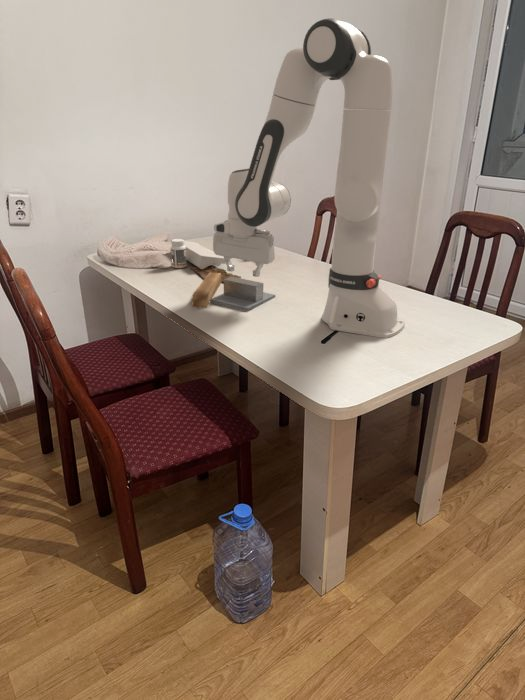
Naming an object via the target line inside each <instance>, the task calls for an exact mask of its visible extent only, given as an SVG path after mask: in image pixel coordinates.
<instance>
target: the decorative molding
mask: <svg viewBox="0 0 525 700" xmlns="http://www.w3.org/2000/svg"><path fill="white" fill-rule="evenodd" d="M184 246H185V247H186V257H187V262H189V263H190V264H193V265H194V267H199V268H200V269H204V268H206V267H211V266H213V267H214V266H215V267H220V266H221V265H223V264H224V265H226V263H225V261H224V256H220V255H216V254H215V253H214V251H213V250H211V249H209V248H207V247H205V246H203V245H201V244H200V243H197V242H196V241H195V242H194V241H187V240H184Z"/></svg>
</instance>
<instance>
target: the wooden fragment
mask: <svg viewBox="0 0 525 700" xmlns="http://www.w3.org/2000/svg"><path fill="white" fill-rule="evenodd" d="M191 269H192V270H193V271H194V272H195V273H196V274H198V275H199V276H200V277H201V279H203V280H204V279H205V278H206V276H207V275H208V274H209V273H221V283H224V279H226V278H228V277H231V276H232V277H237V278H241V279H242V276H240V275H236V274H233V273H232V272H231V273H228V271H227V269H224V268H217V266H215V267H214V266H213V267H212V266H208V267H206V268H204V269H200V268H199V267H197V266H194V267H193V266H192V267H191Z"/></svg>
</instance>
